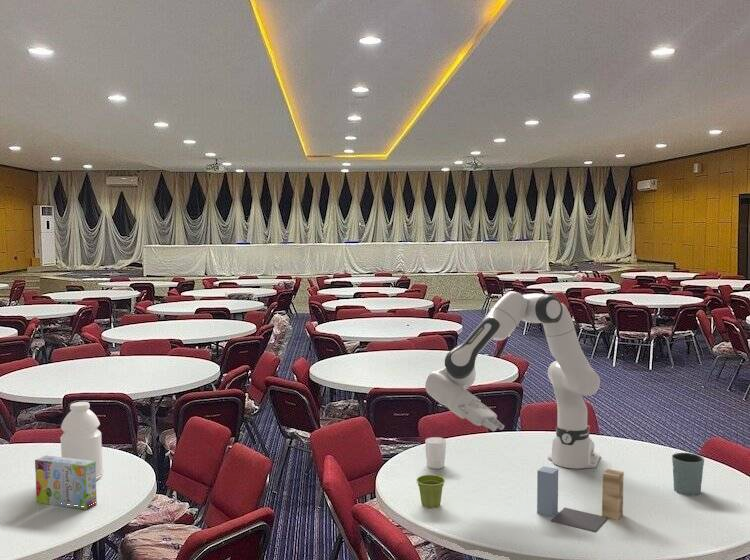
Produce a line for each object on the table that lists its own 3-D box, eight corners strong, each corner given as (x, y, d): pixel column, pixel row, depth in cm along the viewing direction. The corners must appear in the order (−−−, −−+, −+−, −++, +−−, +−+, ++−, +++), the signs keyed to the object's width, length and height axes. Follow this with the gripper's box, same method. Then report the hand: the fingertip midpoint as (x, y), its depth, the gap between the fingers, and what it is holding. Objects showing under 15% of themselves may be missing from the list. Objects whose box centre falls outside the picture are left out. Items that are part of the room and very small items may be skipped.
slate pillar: (543, 507, 235) (543, 466, 234) (557, 511, 232) (558, 469, 231) (537, 513, 231) (537, 470, 230) (552, 516, 228) (552, 473, 227)
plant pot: (437, 513, 231) (437, 486, 231) (411, 507, 236) (411, 481, 236) (449, 503, 239) (449, 477, 239) (424, 497, 244) (424, 472, 243)
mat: (564, 508, 234) (564, 507, 234) (607, 518, 226) (607, 517, 226) (550, 521, 224) (550, 520, 224) (595, 531, 216) (595, 531, 216)
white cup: (444, 469, 271) (444, 444, 270) (423, 468, 273) (423, 442, 272) (446, 463, 279) (446, 437, 278) (426, 461, 280) (426, 436, 280)
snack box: (98, 504, 241) (96, 460, 239) (86, 510, 235) (84, 465, 234) (47, 496, 248) (45, 454, 246) (35, 503, 242) (33, 459, 241)
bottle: (53, 482, 261) (50, 406, 259) (82, 469, 274) (79, 397, 272) (83, 487, 256) (80, 410, 254) (111, 474, 269) (108, 400, 267)
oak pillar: (606, 511, 232) (607, 468, 231) (622, 514, 229) (623, 471, 228) (602, 516, 228) (602, 473, 227) (617, 520, 225) (618, 476, 224)
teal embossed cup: (703, 488, 251) (704, 454, 250) (703, 498, 242) (704, 463, 241) (671, 484, 255) (672, 451, 254) (670, 493, 246) (671, 459, 245)
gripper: (461, 397, 236) (496, 421, 230) (478, 397, 254) (511, 419, 248) (451, 413, 236) (486, 438, 230) (469, 412, 255) (502, 435, 249)
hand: (499, 428), depth 239 cm, fingers open, 8 cm apart
